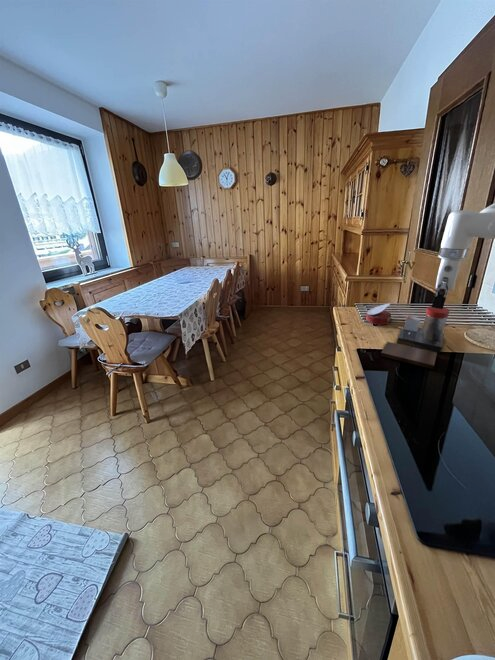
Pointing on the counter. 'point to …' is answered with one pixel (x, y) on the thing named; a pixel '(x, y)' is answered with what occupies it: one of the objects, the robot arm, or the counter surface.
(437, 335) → the jar with red lid
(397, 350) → the board
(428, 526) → the counter surface
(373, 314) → the canned food
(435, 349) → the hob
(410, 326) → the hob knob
